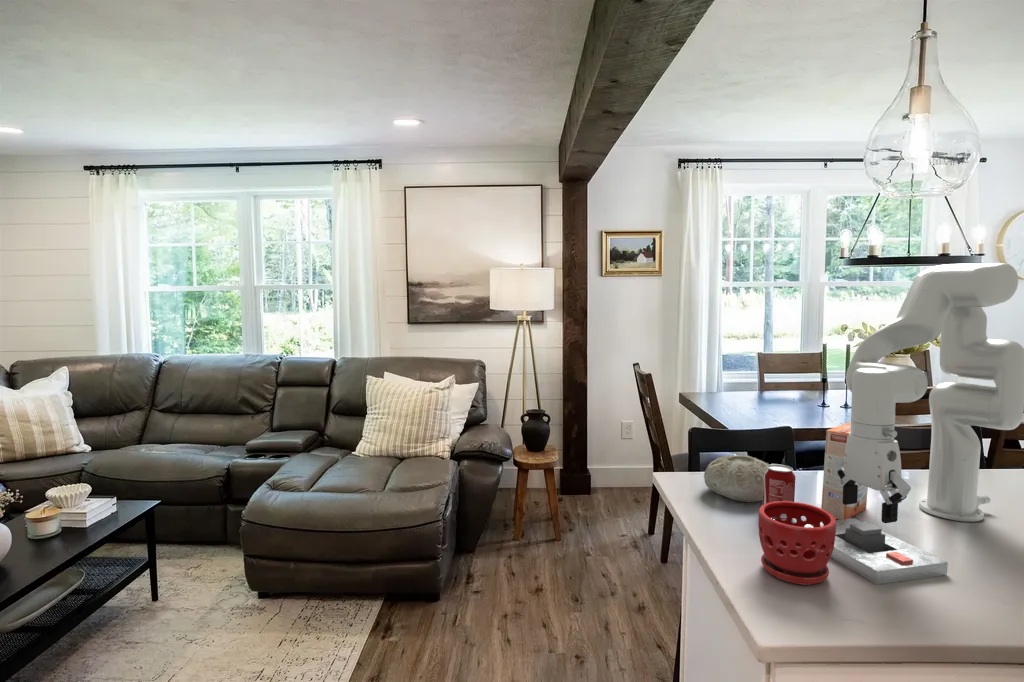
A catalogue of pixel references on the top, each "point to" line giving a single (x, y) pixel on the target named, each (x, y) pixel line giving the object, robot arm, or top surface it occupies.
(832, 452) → the cracker box
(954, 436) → the robot arm
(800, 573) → the plant pot
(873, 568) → the socket
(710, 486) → the decorative shell
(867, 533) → the plug
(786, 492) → the soda can
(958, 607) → the top surface
